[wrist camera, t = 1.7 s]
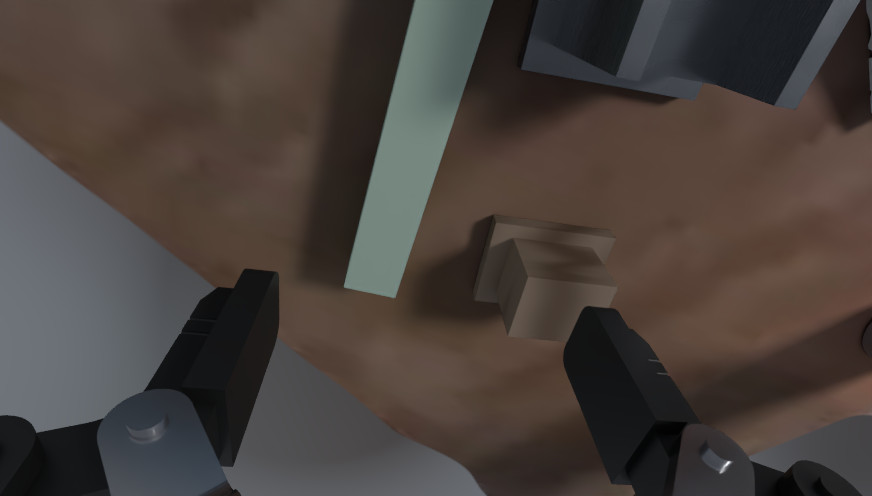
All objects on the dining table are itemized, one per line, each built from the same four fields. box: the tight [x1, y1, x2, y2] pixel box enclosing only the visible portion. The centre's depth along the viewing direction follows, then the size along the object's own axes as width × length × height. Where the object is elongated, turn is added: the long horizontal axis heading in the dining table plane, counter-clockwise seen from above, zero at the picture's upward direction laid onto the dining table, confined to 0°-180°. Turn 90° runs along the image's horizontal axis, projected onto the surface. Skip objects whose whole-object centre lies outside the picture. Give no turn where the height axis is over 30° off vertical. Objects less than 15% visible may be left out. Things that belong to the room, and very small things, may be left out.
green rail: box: [344, 0, 493, 298], centre depth 26 cm, size 4×24×4 cm, turn 163°
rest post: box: [473, 215, 618, 342], centre depth 31 cm, size 9×7×6 cm
